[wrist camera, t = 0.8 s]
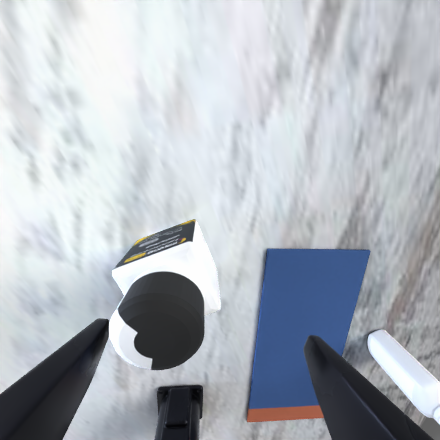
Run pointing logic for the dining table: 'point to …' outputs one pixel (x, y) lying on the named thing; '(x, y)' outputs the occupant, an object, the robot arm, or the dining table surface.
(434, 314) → the dining table surface
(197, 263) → the medicine bottle
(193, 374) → the dining table surface
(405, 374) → the eye dropper bottle
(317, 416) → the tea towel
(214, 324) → the dining table surface
